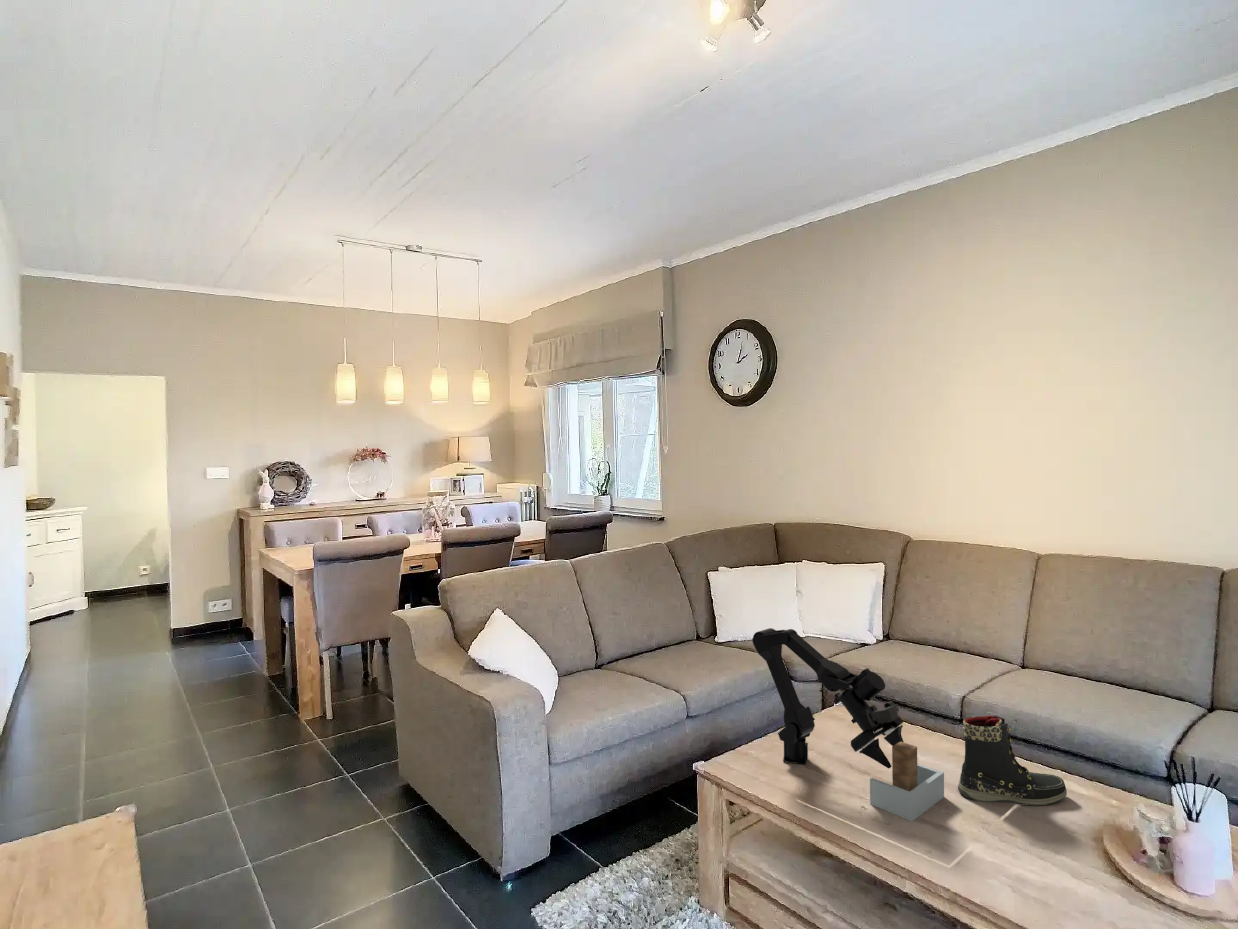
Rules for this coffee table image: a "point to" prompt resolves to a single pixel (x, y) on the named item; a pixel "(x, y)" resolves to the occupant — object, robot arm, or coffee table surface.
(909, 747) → the walnut block
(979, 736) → the boot
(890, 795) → the crate
